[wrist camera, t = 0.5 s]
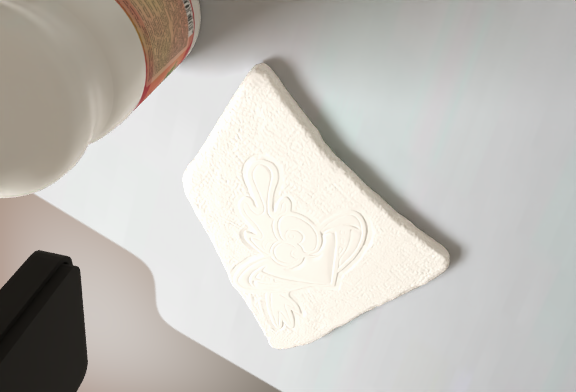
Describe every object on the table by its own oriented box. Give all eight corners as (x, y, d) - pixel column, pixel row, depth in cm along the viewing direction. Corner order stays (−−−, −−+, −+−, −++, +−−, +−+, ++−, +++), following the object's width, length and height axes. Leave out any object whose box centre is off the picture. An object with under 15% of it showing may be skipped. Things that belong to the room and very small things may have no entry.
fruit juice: (220, -27, 38) (-29, 146, 15) (184, 87, 43) (-44, 351, 20) (96, -84, 37) (-379, 3, 14) (74, 39, 42) (-302, 255, 19)
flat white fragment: (452, 246, 50) (273, 44, 41) (459, 270, 47) (268, 57, 39) (286, 341, 59) (108, 190, 50) (283, 366, 56) (94, 211, 47)
